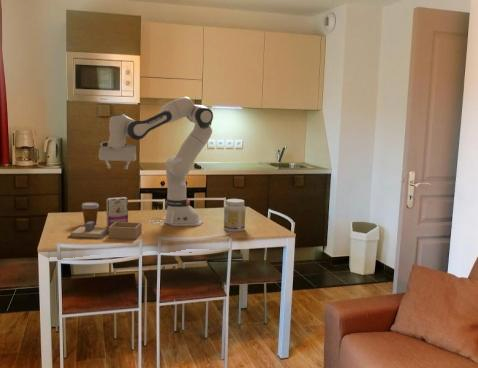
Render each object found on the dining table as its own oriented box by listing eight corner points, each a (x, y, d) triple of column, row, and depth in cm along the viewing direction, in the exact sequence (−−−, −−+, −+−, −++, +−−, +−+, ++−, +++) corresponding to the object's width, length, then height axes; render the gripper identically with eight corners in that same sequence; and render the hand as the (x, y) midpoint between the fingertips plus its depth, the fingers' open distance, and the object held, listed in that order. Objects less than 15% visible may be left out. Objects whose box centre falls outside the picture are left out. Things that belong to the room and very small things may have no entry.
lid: (108, 231, 264) (108, 220, 263) (100, 237, 251) (100, 226, 250) (80, 230, 265) (80, 219, 264) (70, 236, 251) (70, 225, 250)
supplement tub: (237, 226, 287) (238, 197, 284) (249, 230, 277) (250, 201, 274) (219, 228, 280) (220, 199, 278) (230, 233, 270) (231, 203, 268)
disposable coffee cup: (102, 224, 279) (102, 204, 277) (87, 227, 272) (87, 206, 270) (93, 221, 285) (93, 201, 284) (78, 224, 278) (78, 203, 277)
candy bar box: (125, 224, 281) (125, 196, 278) (128, 226, 277) (128, 198, 274) (106, 226, 276) (105, 197, 273) (108, 228, 271) (108, 199, 269)
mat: (111, 231, 265) (111, 230, 265) (101, 239, 250) (101, 238, 249) (78, 229, 266) (78, 229, 266) (67, 237, 250) (67, 236, 250)
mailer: (141, 233, 263) (141, 222, 262) (135, 239, 251) (135, 228, 250) (115, 232, 263) (115, 221, 262) (108, 238, 251) (108, 226, 250)
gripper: (137, 144, 270) (137, 168, 272) (101, 142, 270) (101, 167, 272) (134, 144, 263) (134, 170, 265) (97, 143, 264) (97, 168, 266)
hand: (117, 168), depth 269 cm, fingers open, 8 cm apart
